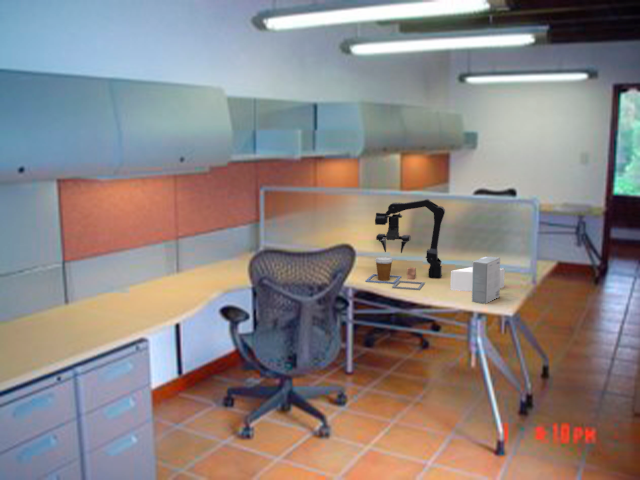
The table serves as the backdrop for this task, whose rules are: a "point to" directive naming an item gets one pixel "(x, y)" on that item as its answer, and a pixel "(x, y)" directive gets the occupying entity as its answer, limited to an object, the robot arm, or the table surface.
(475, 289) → the hard drive box
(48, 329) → the table surface
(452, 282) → the white box
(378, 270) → the disposable coffee cup
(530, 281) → the table surface
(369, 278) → the frame cup
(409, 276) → the block
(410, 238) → the robot arm
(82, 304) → the table surface
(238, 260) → the table surface
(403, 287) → the frame empty
